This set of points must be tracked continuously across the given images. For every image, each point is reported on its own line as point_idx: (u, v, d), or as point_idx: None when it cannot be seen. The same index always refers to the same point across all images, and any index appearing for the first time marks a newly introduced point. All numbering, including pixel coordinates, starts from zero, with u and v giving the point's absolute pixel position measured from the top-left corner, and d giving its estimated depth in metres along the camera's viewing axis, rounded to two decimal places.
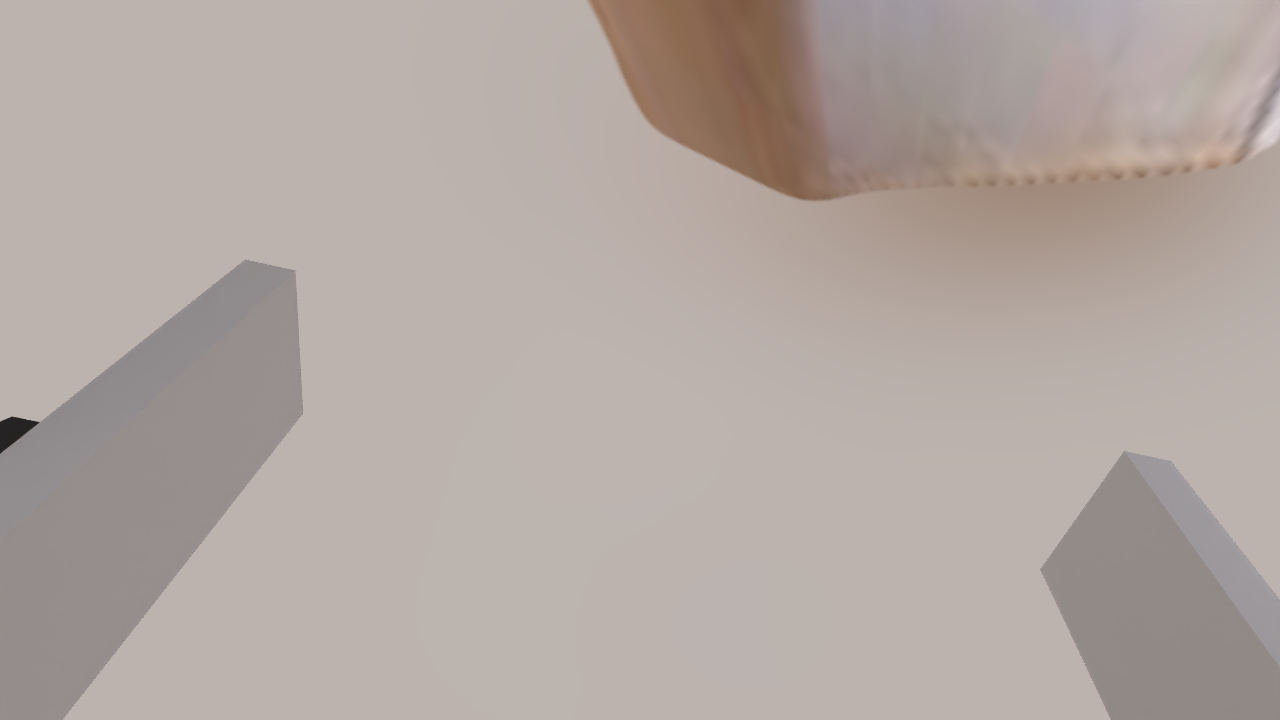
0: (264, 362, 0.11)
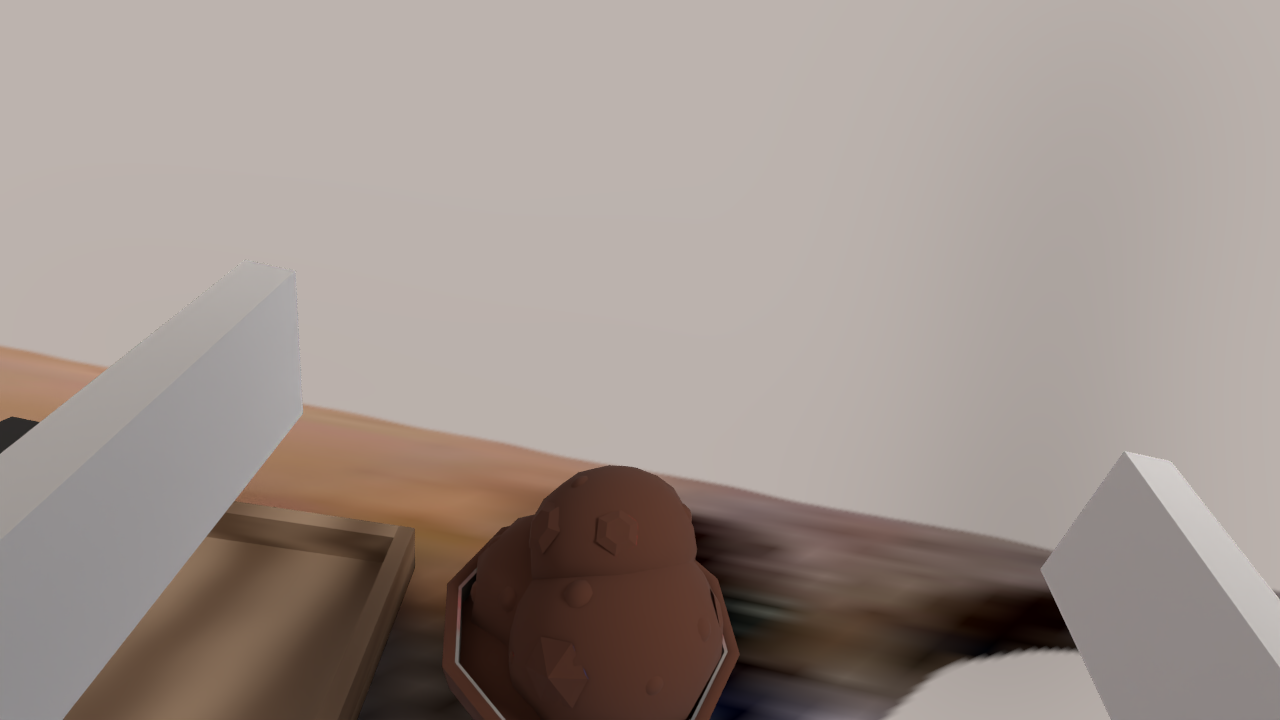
0: (264, 362, 0.11)
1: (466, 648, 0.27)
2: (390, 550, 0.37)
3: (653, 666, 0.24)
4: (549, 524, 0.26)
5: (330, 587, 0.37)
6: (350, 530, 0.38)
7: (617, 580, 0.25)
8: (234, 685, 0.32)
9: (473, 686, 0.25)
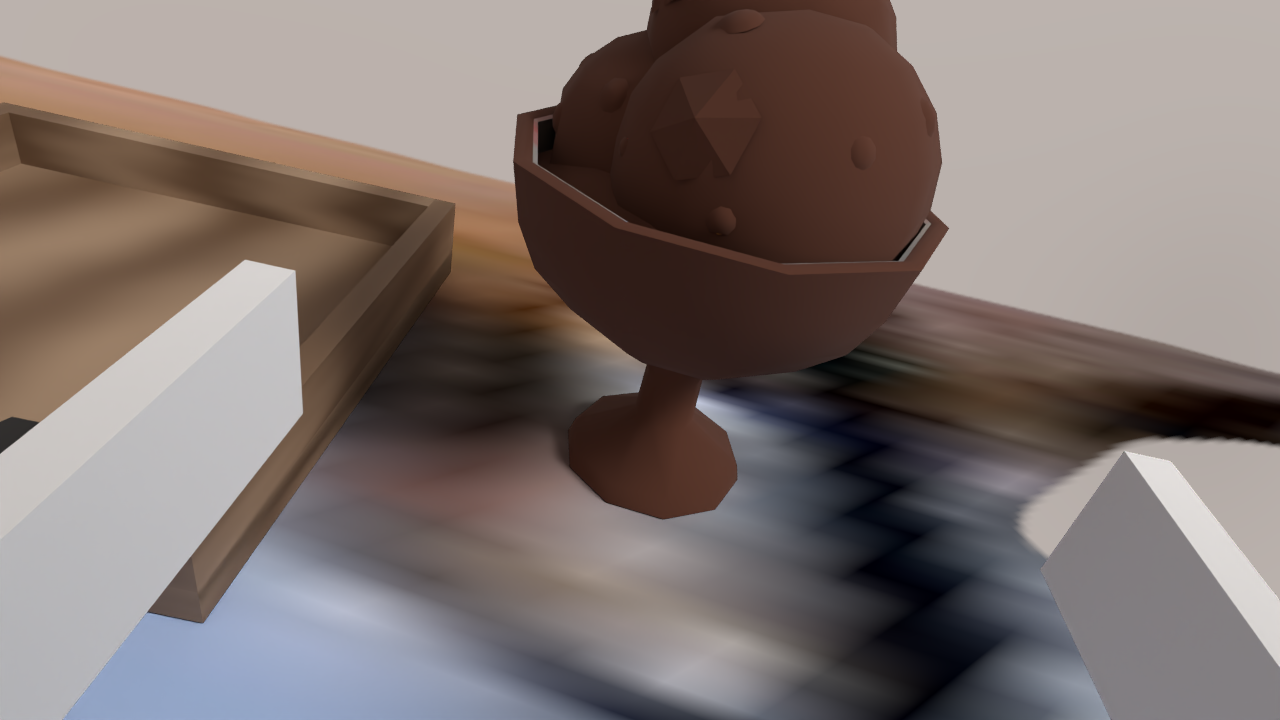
0: (264, 362, 0.11)
1: None
2: (424, 215, 0.28)
3: (865, 117, 0.15)
4: None
5: (342, 259, 0.28)
6: (373, 193, 0.29)
7: (801, 12, 0.16)
8: None
9: (562, 183, 0.16)
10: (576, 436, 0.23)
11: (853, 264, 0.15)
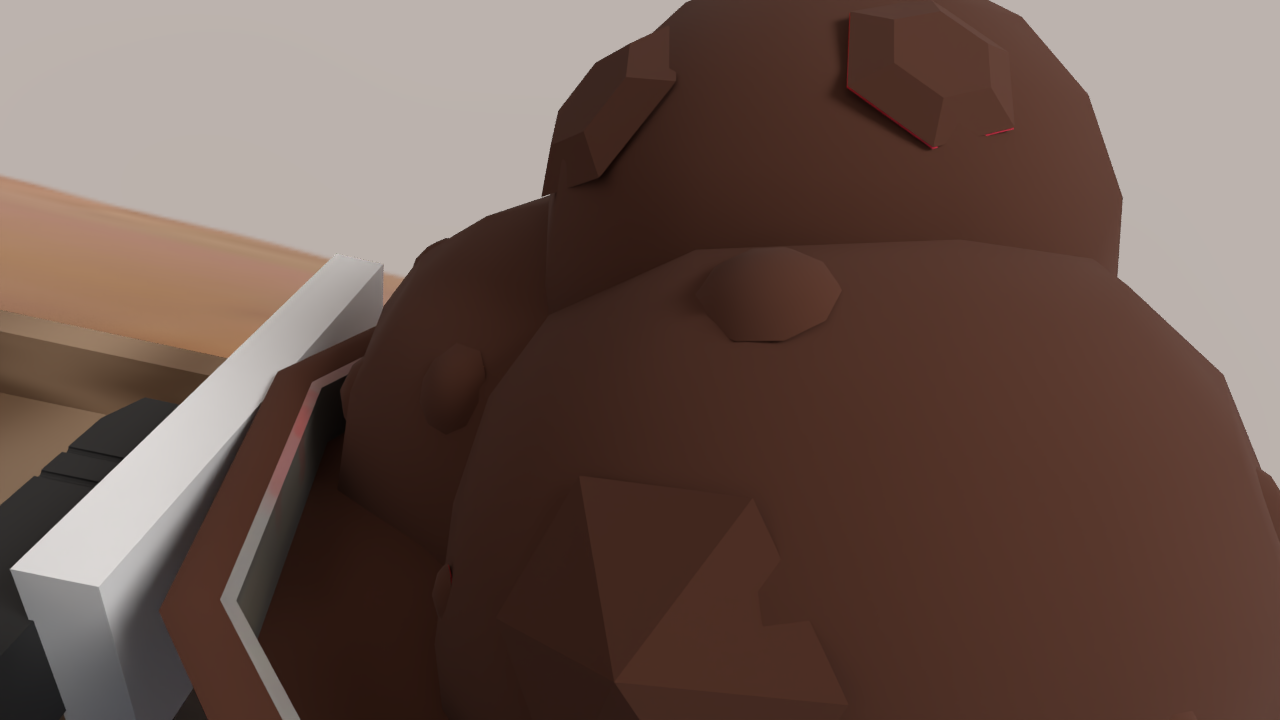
0: None
1: (302, 566, 0.08)
2: None
3: (1182, 658, 0.04)
4: (631, 68, 0.06)
5: None
6: (170, 365, 0.19)
7: (942, 254, 0.05)
8: None
9: (271, 703, 0.06)
10: None
11: None
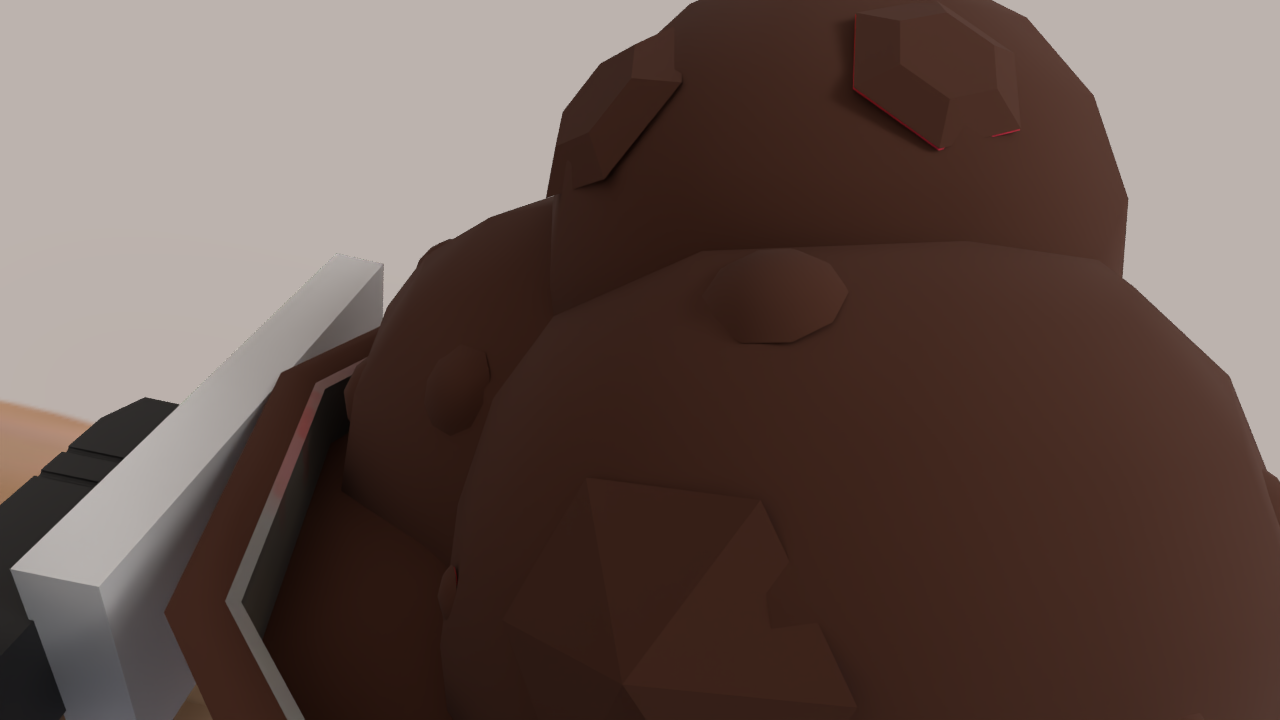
0: None
1: (306, 567, 0.08)
2: None
3: (1189, 660, 0.04)
4: (637, 69, 0.06)
5: None
6: None
7: (949, 255, 0.05)
8: None
9: (278, 703, 0.06)
10: None
11: None
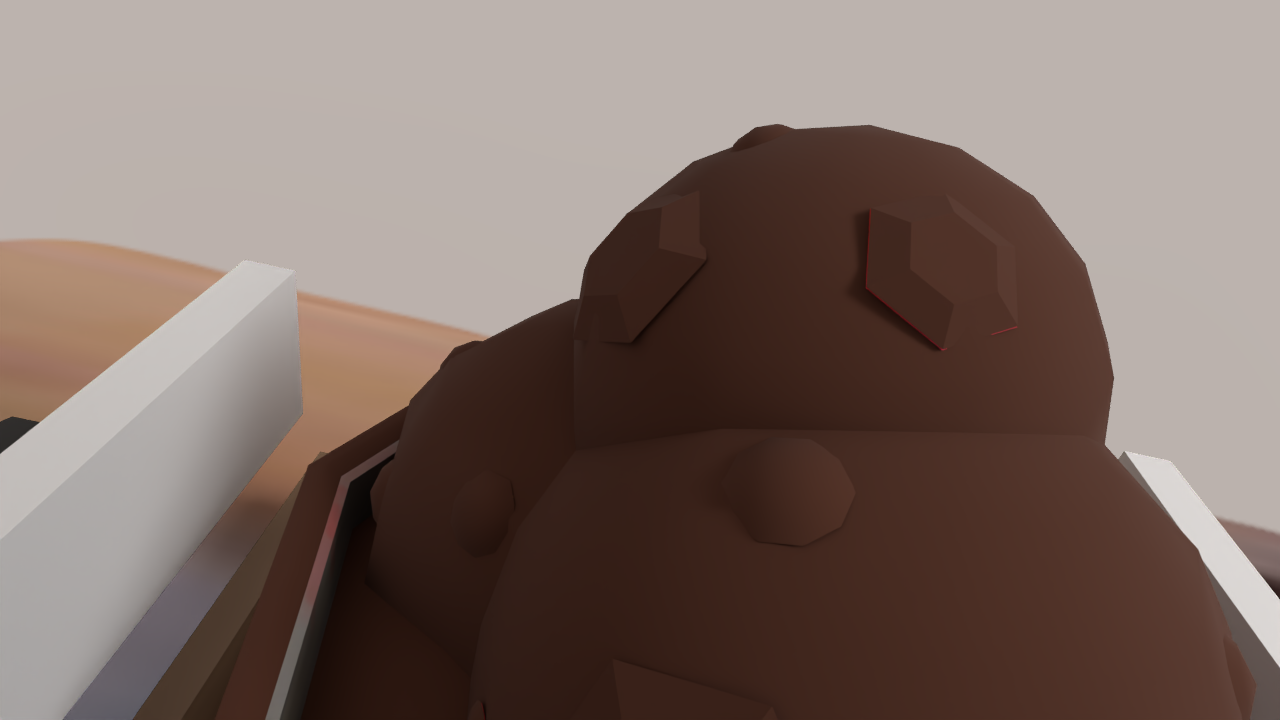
0: (264, 362, 0.11)
1: (333, 666, 0.08)
2: None
3: None
4: (664, 238, 0.07)
5: None
6: None
7: (947, 452, 0.06)
8: None
9: None
10: None
11: None
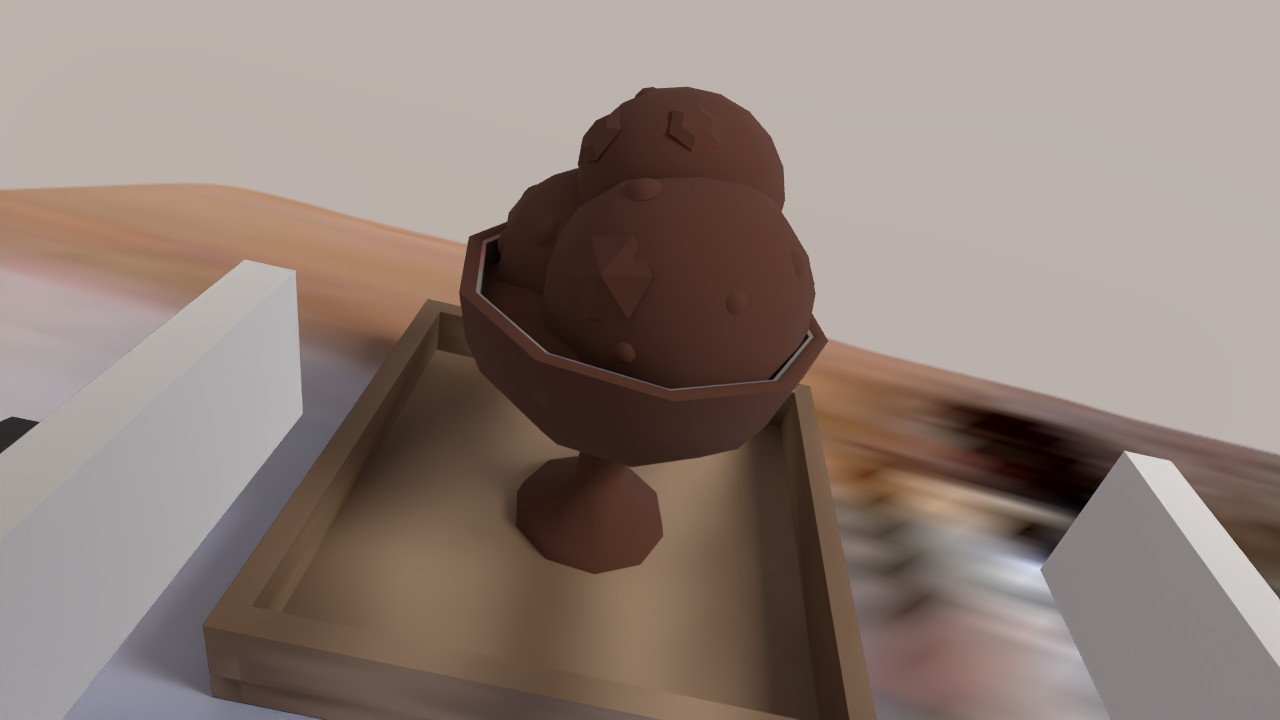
0: (264, 362, 0.11)
1: (489, 299, 0.22)
2: (799, 403, 0.33)
3: (737, 274, 0.18)
4: (608, 124, 0.20)
5: None
6: None
7: (693, 180, 0.19)
8: (681, 522, 0.28)
9: (498, 313, 0.20)
10: (522, 498, 0.27)
11: (730, 388, 0.19)
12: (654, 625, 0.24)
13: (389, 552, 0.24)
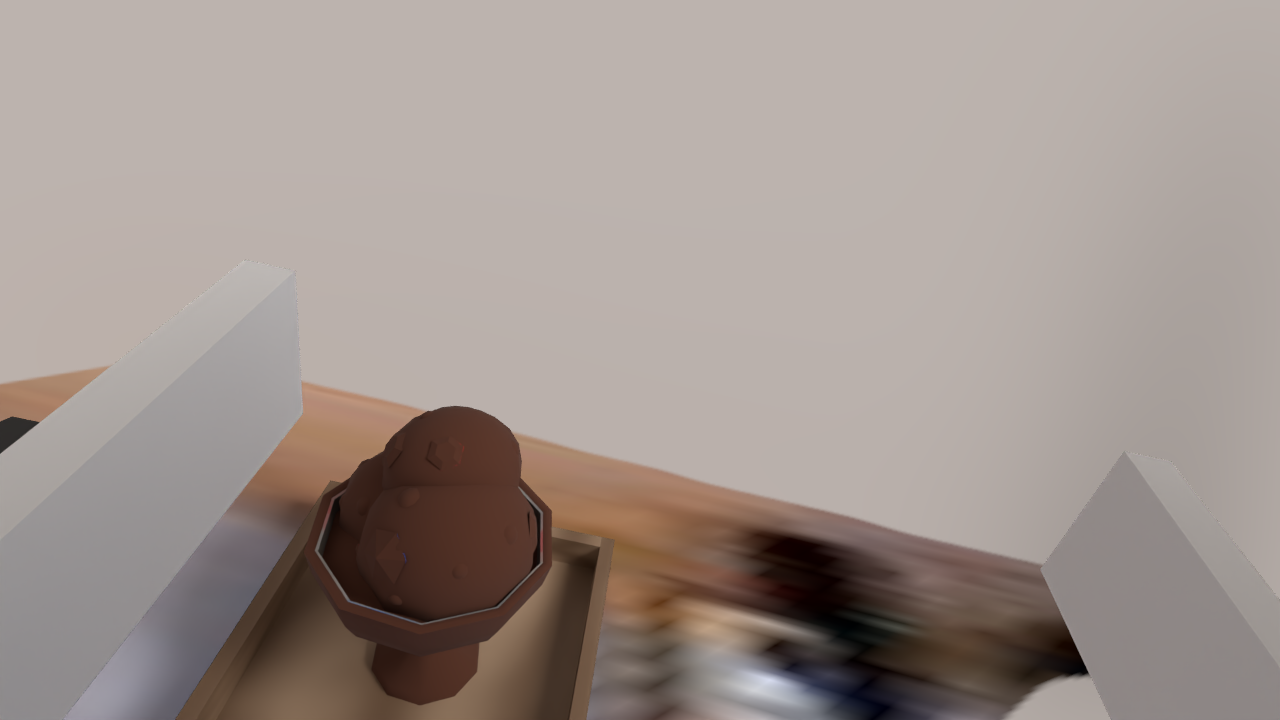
0: (264, 362, 0.11)
1: (330, 544, 0.34)
2: (600, 557, 0.45)
3: (459, 555, 0.30)
4: (395, 445, 0.32)
5: (548, 585, 0.45)
6: (565, 538, 0.46)
7: (441, 489, 0.31)
8: (493, 659, 0.40)
9: (326, 568, 0.32)
10: (377, 649, 0.39)
11: (461, 619, 0.31)
12: None
13: (279, 695, 0.37)
